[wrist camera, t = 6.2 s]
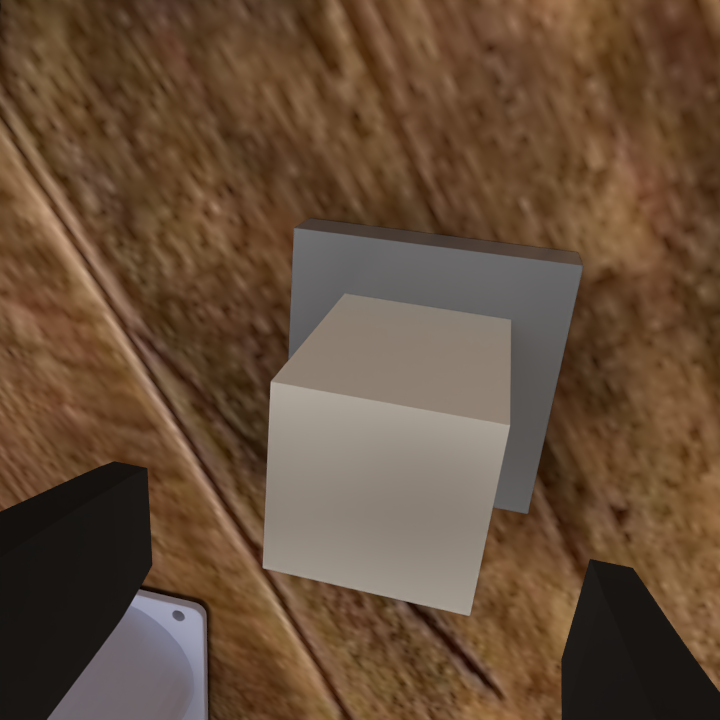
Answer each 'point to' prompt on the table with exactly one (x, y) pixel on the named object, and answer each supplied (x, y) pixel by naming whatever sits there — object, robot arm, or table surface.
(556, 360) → the slate base
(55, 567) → the robot arm
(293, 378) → the cream block
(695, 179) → the table surface
